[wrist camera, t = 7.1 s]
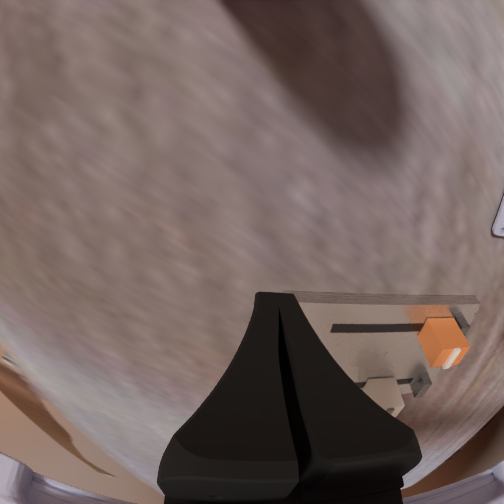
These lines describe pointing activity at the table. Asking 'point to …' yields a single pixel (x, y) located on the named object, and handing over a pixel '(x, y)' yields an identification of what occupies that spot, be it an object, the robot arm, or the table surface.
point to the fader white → (385, 394)
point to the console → (382, 332)
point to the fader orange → (442, 342)
